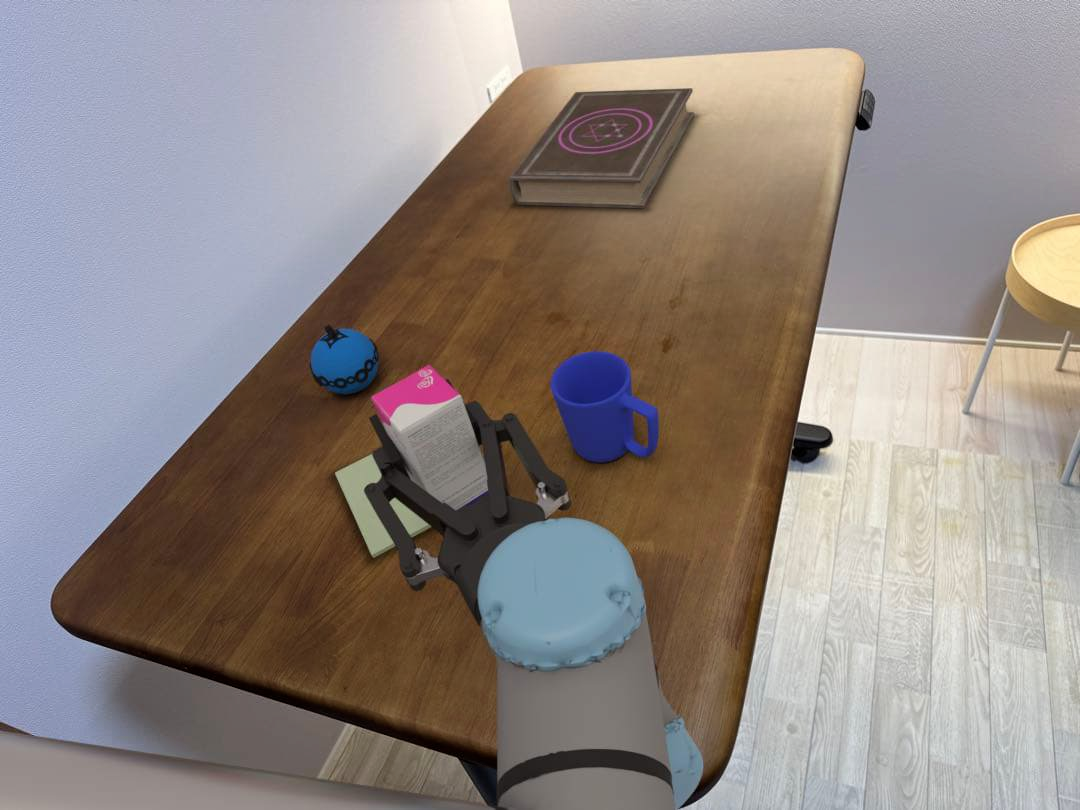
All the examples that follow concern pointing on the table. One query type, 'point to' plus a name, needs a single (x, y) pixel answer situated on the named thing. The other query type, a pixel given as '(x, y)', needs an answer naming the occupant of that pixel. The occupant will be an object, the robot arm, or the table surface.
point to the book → (604, 149)
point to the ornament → (344, 361)
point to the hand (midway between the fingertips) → (413, 409)
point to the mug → (601, 407)
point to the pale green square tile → (366, 518)
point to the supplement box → (434, 437)
